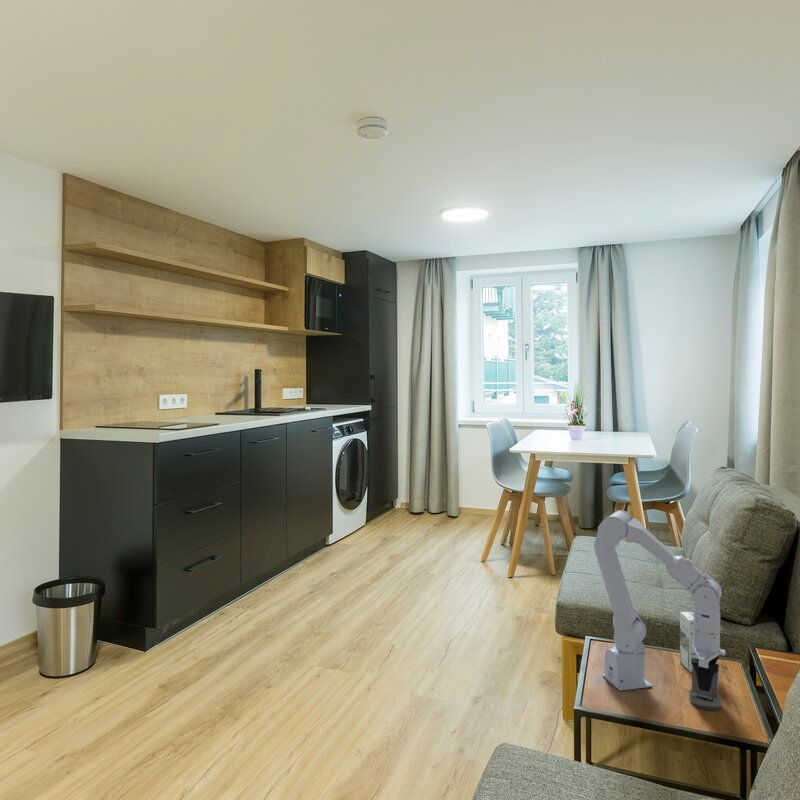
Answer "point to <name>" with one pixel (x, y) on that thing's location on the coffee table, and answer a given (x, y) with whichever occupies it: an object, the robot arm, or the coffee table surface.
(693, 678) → the socket
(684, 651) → the syrup box
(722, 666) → the coffee table surface
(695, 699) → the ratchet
